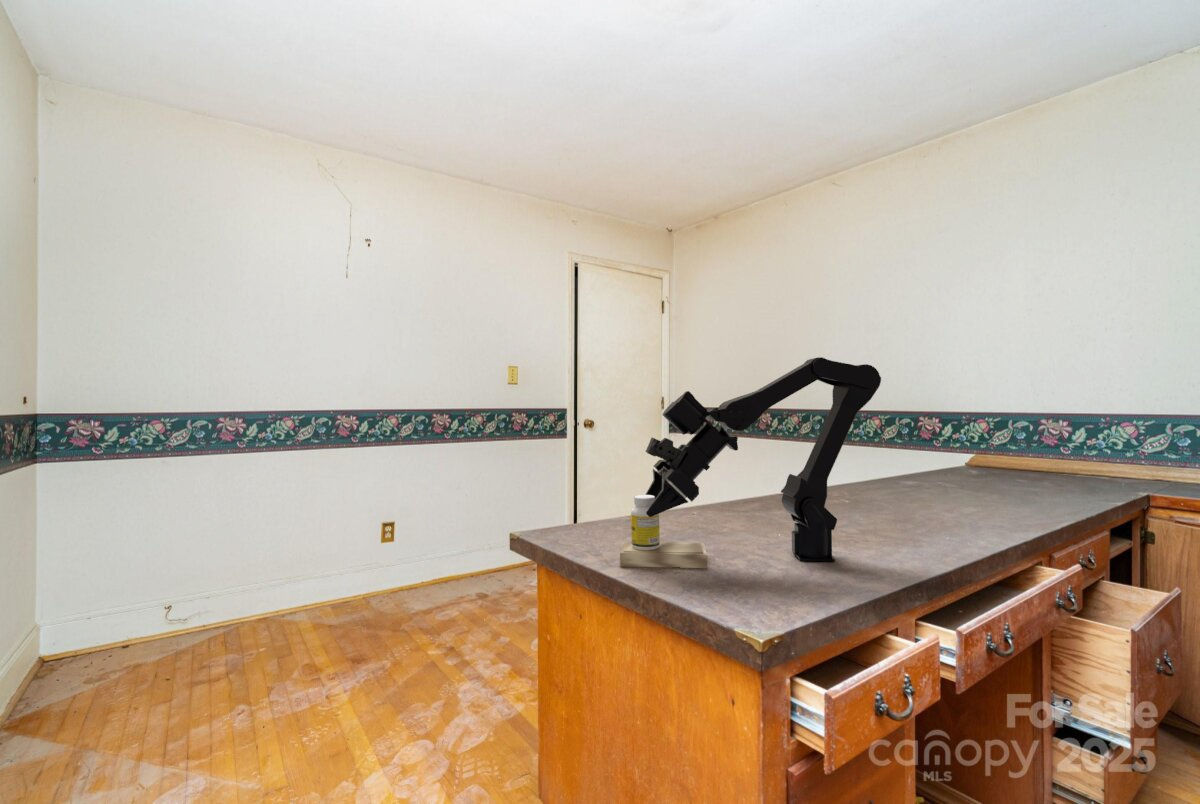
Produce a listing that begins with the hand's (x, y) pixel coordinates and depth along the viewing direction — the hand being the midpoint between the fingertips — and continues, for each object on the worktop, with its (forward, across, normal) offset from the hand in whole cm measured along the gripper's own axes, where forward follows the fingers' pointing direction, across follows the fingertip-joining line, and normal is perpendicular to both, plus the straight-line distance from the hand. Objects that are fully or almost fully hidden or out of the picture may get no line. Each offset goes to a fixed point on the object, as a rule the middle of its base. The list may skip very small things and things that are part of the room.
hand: (644, 510), depth 104 cm
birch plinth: (+5, 0, +9) cm, 10 cm away
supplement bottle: (+5, 0, +5) cm, 7 cm away
